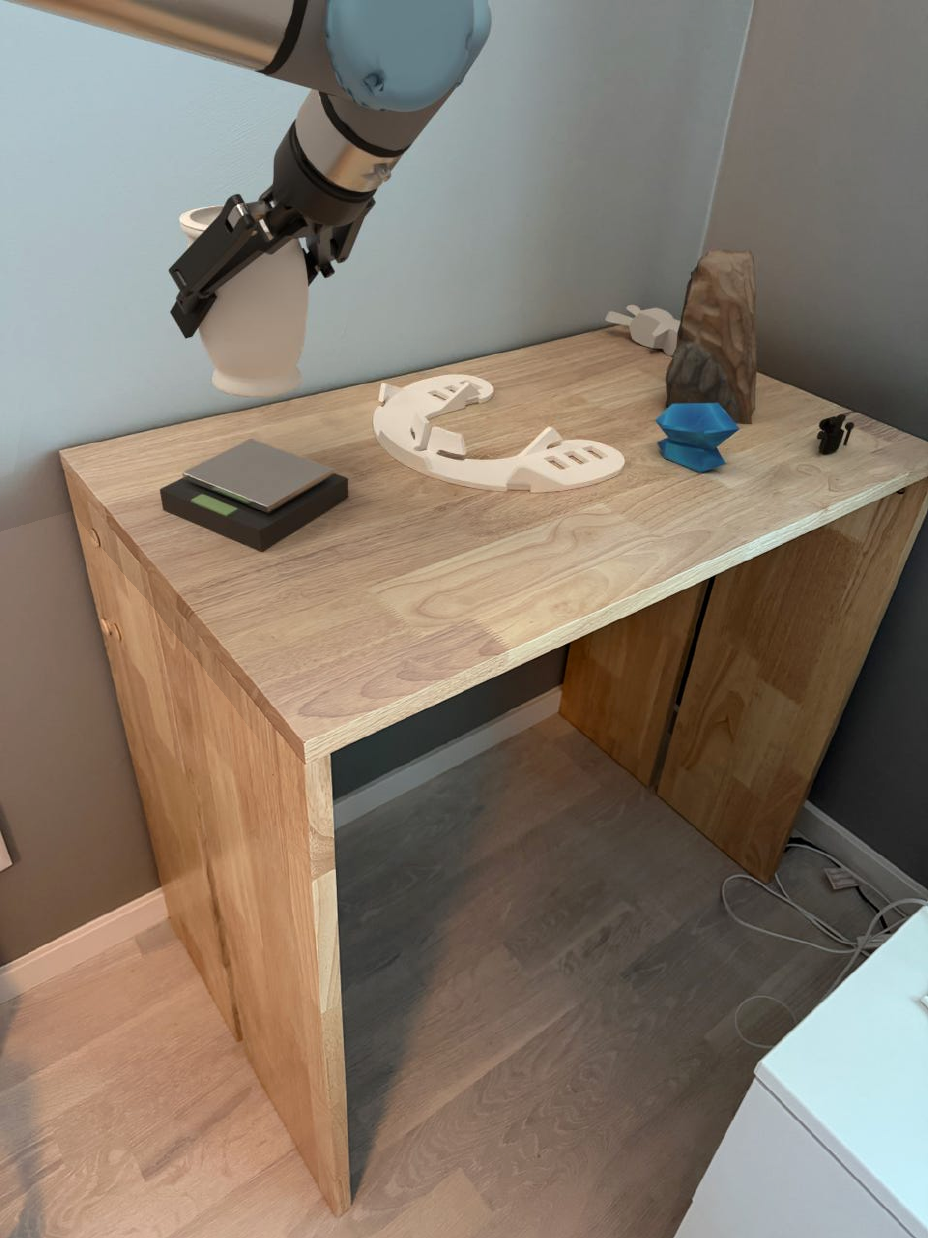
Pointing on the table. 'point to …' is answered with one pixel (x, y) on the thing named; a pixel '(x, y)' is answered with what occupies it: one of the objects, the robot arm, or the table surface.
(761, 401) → the table surface
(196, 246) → the robot arm
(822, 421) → the wireless earbuds
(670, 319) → the bunny figurine
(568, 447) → the cable organizer
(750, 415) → the brown rock
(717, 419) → the crystal
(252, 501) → the scale platform
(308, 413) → the table surface
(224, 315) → the jar
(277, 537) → the scale
